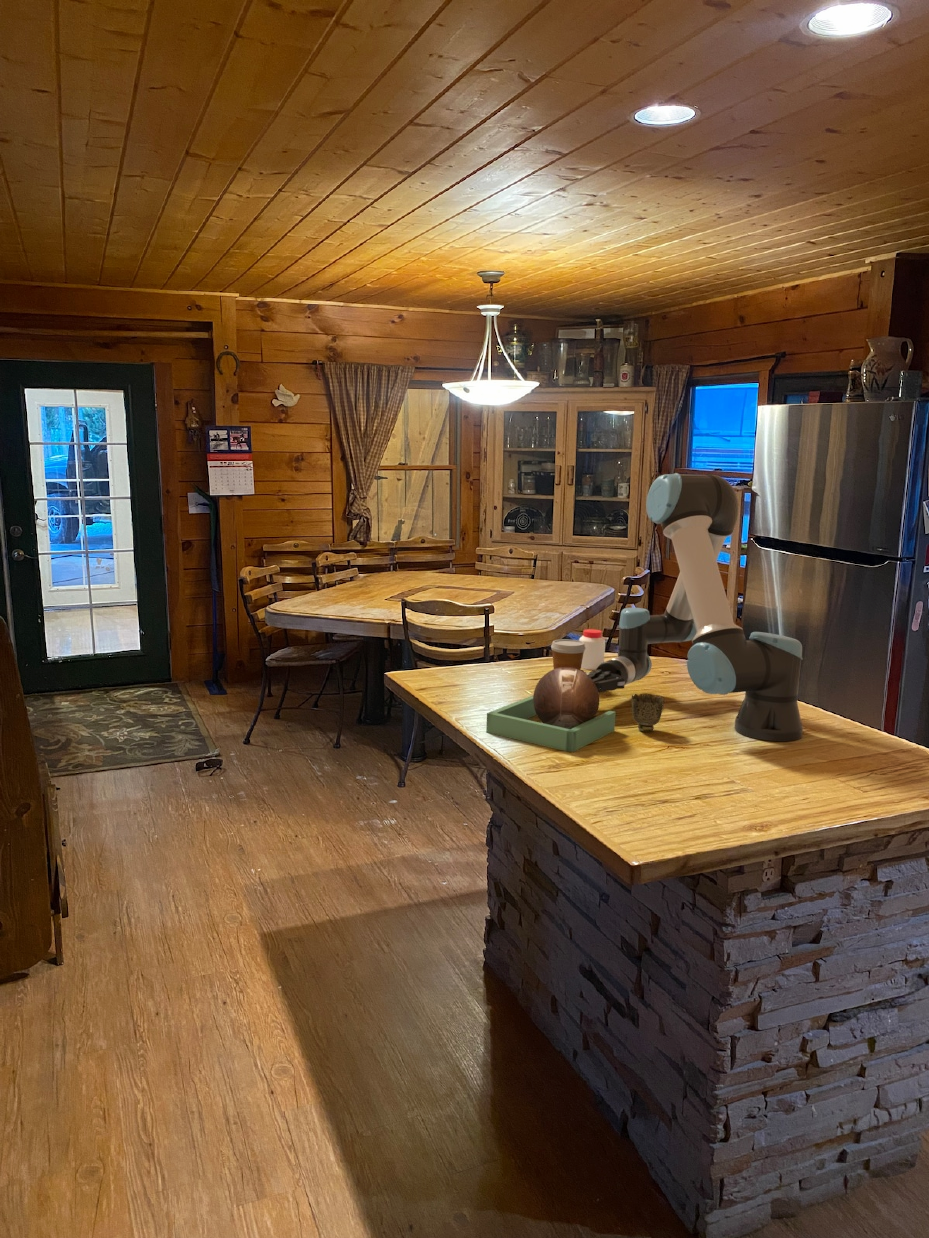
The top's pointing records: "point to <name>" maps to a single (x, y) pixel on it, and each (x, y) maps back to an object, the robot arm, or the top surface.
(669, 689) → the top surface
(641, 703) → the cup
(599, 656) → the pill bottle
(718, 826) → the top surface
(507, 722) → the green bracket
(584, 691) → the wooden sphere
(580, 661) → the disposable coffee cup
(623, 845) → the top surface
